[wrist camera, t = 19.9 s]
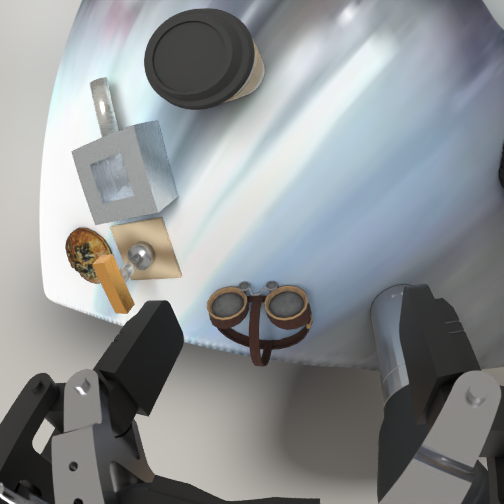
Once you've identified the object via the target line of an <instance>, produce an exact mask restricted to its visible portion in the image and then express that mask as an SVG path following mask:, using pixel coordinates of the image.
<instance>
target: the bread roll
mask: <svg viewBox="0 0 504 504" xmlns="http://www.w3.org/2000/svg"><path fill="white" fill-rule="evenodd" d="M66 252H67V257H68V260H69V262H70V264H71V267H72V268H74V269H75V270H76V271H78V272H79V273H80V275H81V277H83V278H84V279H86V280H87V281H89V282H91V283H95V284H99V283H101V282H100V280H99V278H98V276H97V274H96V271H95V269H94V267H93V265H92V264H93V263H94V262H95V261H96V260H97V259H98V258H99V257H100V256H102V255H111V253H110V250H109V247H108V245H107V243H106V242H105V240H104V239H103V238H102V237H101V236H100V235H98V234H97V233H96V232H94V231H92V230H89V229H87V228H78V229H76V230H74V231H73V232H72V233H71V234H70V235H69V237H68V239H67V241H66Z"/></svg>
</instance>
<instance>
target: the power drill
mask: <svg viewBox="0 0 504 504" xmlns="http://www.w3.org/2000/svg"><path fill="white" fill-rule="evenodd" d="M503 149H504V148H503ZM502 154H503V157H502V162H501V165H502V167H500V170H499V172H500V179H501V184H502V186H503V187H504V151H503V153H502Z"/></svg>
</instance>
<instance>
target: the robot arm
mask: <svg viewBox="0 0 504 504" xmlns="http://www.w3.org/2000/svg"><path fill="white" fill-rule="evenodd" d="M370 315H371V320H372V326H373V332H374V338H375V345H376V351H377V358H378V365H379V372H380V380H381V388H382V395H383V406H384V420H383V423H382V425H381V429H380V434H379V452H378V479H377V496H378V504H504V386H500V385H499V384H498V382H497V381H496V379H495V378H494V377H493V376H492V375H490V374H488V373H486V372H483V371H481V369H480V366H479V364H478V361H477V359H476V356H475V354H474V352H473V349H472V347H471V344H470V342H469V340H468V338H467V335H466V333H465V332H464V329H463V327H462V324H461V322H459V318H458V316H457V314H456V312H455V310H454V308H453V307H452V306H451V305H450V304H449V303H448V302H446V301H445V300H444V299H443V298H440V299H434V297H433V294H432V292H431V290H430V288H429V286H428V285H427V284H422V285H414V286H412V285H397V286H393V287H391V288H388V289H387V290H385V291H383V292H382V293H381V294H380V295H378V297H377V298H376V299H375V300H374V302H373V304H372V307H371V313H370ZM183 343H184V336H183V332H182V330H181V327H180V325H179V323H178V321H177V318H176V316H175V314H174V311H173V309H172V307H171V305H170V303H169V302H168V301H166V300H163V301H147V302H146V303H145V304H144V305H143V307H142V308H141V309H140V311H139V312H138V313H137V314H136V315H135V316H134V317H132V318H131V319H130V320H129V321H127V322H126V324H125V325H124V326H123V328H122V329H121V331H120V334H118V335H117V336H116V337H115V339H114V342H112V343H111V345H110V346H109V347H108V349H107V350H106V352H105V353H104V354H103V356H102V357H101V359H100V360H99V362H98V363H97V365H96V366H95V367H94V369H93V370H90V369H85V370H81V371H79V372H77V373H75V374H74V375H73V376H72V377H71V378H70V379H69V380H68V381H67V383H55V382H54V381H53V380H52V379H51V377H50V376H49V375H48V374H46V373H40V374H37V375H35V376H34V377H32V378H31V379H30V380H29V381H28V383H27V384H26V386H25V387H24V388H23V390H22V391H21V393H20V395H19V396H18V398H17V399H16V400H15V402H14V404H13V405H12V406H11V408H10V410H9V411H8V413H7V414H6V416H5V418H4V419H3V421H2V422H1V424H0V504H320V499H305V498H304V499H303V498H281V497H272V498H264V499H254V500H244V501H225V500H223V499H220V498H218V497H216V496H213V495H211V494H209V493H207V492H205V491H203V490H201V489H199V488H197V487H195V486H193V485H191V484H188V483H183V482H180V481H175V480H172V479H168V478H165V477H161V476H158V475H155V474H154V473H153V472H152V470H151V469H150V467H149V465H148V463H147V460H146V457H145V453H144V449H143V446H142V442H141V438H140V434H139V431H138V426H137V423H136V421H135V420H134V417H135V415H136V414H140V415H145V416H149V415H150V413H151V411H152V409H153V406H154V404H155V402H156V400H157V398H158V396H159V394H160V392H161V390H162V388H163V386H164V384H165V382H166V380H167V377H168V376H169V373H170V372H171V370H172V368H173V365H174V363H175V361H176V359H177V357H178V355H179V353H180V351H181V349H182V347H183ZM44 418H45V419H47V421H48V422H50V423H51V424H52V425H53V426H54V427H55V430H54V431H53V433H52V435H51V437H50V439H49V441H48V443H47V444H46V446H45V448H44V450H43V452H42V453H41V454H39V453H37V452H36V451H35V450H34V448H33V446H32V440H33V438H34V436H35V434H36V432H37V431H38V429H39V427H40V425H41V424H42V422H43V420H44ZM478 457H486V458H487V467H488V470H487V469H486V468H485V467H484V466H483V465H482V464H481V463H480V462H479V461H478ZM20 481H21V482H20Z"/></svg>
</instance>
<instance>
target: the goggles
mask: <svg viewBox="0 0 504 504" xmlns="http://www.w3.org/2000/svg"><path fill="white" fill-rule="evenodd" d="M249 287H250V286H249V283H247V282H242V283H240V284H239V288H235V287H227V288H222V289H220V290H218V291H216V292H215V293H214V294H213V295H211V296H210V298H209V300H208V302H207V310H208V312H209V316H210V320H211V322H212V324H213V325H214V326H215V327H217V328H218V330H219V331H220V332H221V333H222V334H223V335H225V336H226V337H227V338H229V339H230V340H232V341H234V342H236V343H238V344H241V345H244V346H247V347H250V354H251V358H252V362H253V363H254V365H255V366H266V365H267V364H268V362H269V359H270V355H271V350H274V349H282V348H287V347H290V346H293V345H295V344H297V343H299V342H300V341H301V340H303V339H304V338H305V336H306V335H307V333H308V332H309V329H310V328H311V325H312V315H311V310H310V306H309V303H308V299H307V295H306V294H305V292H304V291H303V290H302V289H300V288H298V287H296V286H282V287H278V288H277V283H276V282H275V281H270V282H268V283H267V284H266V287H264V288H263V289H262V290H261V291H260V292H259V293H252V291H251V289H250V288H249ZM265 289H266V290H269V291H271V292H270V293H269V294H268V295H267V296H260V294H261V293H262V292H263V291H264V290H265ZM247 290H249V291H250V294H251V295H252V296H246V294H245V293H244V291H247ZM248 302H252V305H251V311H250V321H249V337H247V336H245V335H242V334H240V333H237V332H236V331H234V330H232V329H231V327H234V326H236V325H237V324H239V323H241V321H242V320H243V319H244V318H245V317H246V315H247V313H248V311H249V303H248ZM262 302H264V303H265V310H266V311H267V315H268V318H269V319H270V321H271V322H272V323H273V324H274V325H276V326H277V327H279V328H282V329H287V330H290V329H297V328H299V327H302V326H304V325H305V324H306V325H305V327H304V328H303V329H302V330H301V331H300V332H298V333H297V334H295V335H293V336H291V337H288V338H283V339H281V340H273V341H266V340H259V318H260V309H261V303H262ZM260 349H264V350H263V354H262V358H261V356H260Z"/></svg>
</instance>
